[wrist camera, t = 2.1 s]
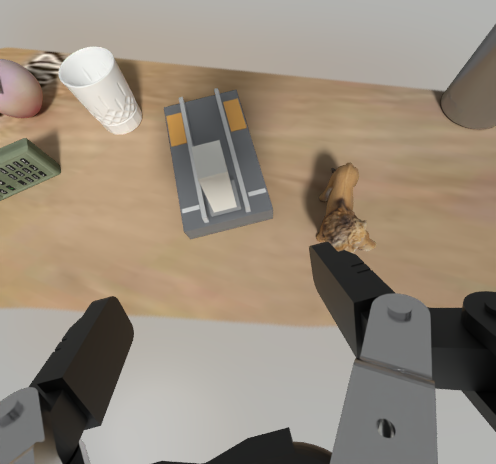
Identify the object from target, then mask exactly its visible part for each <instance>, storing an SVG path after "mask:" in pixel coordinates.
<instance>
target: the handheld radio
mask: <svg viewBox="0 0 496 464" xmlns="http://www.w3.org/2000/svg"><path fill="white" fill-rule="evenodd" d="M60 173H61V169H60V166H59V164H58V163H57V162H55V161H54V160H53V159H52V158H50V157H49V156H48V155H47V154H45V153H44V152H43V151H42V150H40V149H39V148H38V147H37V146H36V145H34V144H33V143H32V142H31V141H29V140H28V139H27V138H23V139H21V140H19V141H16V142H14V143H12V144H9V145H7V146H5V147H2V148H0V201H1V200H3V199H5V198H8V197H10V196H12V195H14V194H17V193H19V192H21V191H23V190H26V189H28V188H30V187H32V186H34V185H37V184H39V183H41V182H43V181H46V180H48V179H50V178H52V177H54V176H57V175H59V174H60Z"/></svg>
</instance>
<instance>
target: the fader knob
mask: <svg viewBox="0 0 496 464" xmlns="http://www.w3.org/2000/svg"><path fill="white" fill-rule="evenodd" d="M191 148H192V153H193V158H194V163H195V168H196V173H197V178H198V181H199V183H200V185H201V187H202V189H203V191H204V193H205V195H206V197H207V200H208V205H209V210H210V214H211V216H212V217H213V216H217V215H221V214H225V213H229V212H233V211H237V210H241V205H240V201H239V197H238V193H237V190H236V186H235V182H234V180H231V181H230V178H229V174H228V170H227V166H226V163H225V159H224V155H223V152H222V148H221V144H220V140H217V141H213V142H209V143H205V144H201V145H197V146H193V147H191Z"/></svg>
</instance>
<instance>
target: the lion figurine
mask: <svg viewBox="0 0 496 464" xmlns="http://www.w3.org/2000/svg"><path fill="white" fill-rule="evenodd" d="M331 169H332V173H333V175H332V176H331V178H330V181H329V183H328V186H327V188H326V189H325V191H324V192H323V193H322V194H321V195H320V197H319V199H320V201H324V202H325V201H327V199H328V196H329V193H330V191H331V190H332V191H331V194H330V196H329V199H328V202H327V207H326V216H325V217H324V220H323V222H322V225H321V228H320V232H319V234H318V235H317V236H316V239H317V240H318V241H319V242H324V241H325V242H329V243H330V244H331V245H332V246H333V247H334V248H335V249H336V250H337V251H342V250H346V251H348V252H351V253H354V252H355V251H356V249H359V250H365V251H369V250H371V249H373V248H375V247H376V243H375V242H374V241H373V240H371V239H370V238H369V233H368V232H367V231H366V226H367V222H366V220H364V221H361V220H360V219H358V218H357V217H356V216H355V213H354V212H353V211H352V210H353V187H354V186H355V185H356V183H357V181H358V178H359V173H358V169H357V168H356V167H354V166H353V165H352V163H347V164H346V165H343V166H341V167H339V168H338V169H337V170H335V169H333V168H331ZM332 188H333V189H332Z"/></svg>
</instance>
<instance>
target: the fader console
mask: <svg viewBox="0 0 496 464" xmlns="http://www.w3.org/2000/svg"><path fill="white" fill-rule="evenodd" d="M214 92H215V95H213V96H209V97H205V98H201V99H196V100H192V101H188V102H184V99H183V97H180V98H179V102H180V104H176V105H172V106H168V107H164V112H165V118H166V124H167V130H168V137H169V143H170V149H171V155H172V161H173V167H174V173H175V179H176V186H177V192H178V198H179V204H180V210H181V216H182V222H183V228H184V232H185V234H186V235H187V236H188V237H189V238H190V239H194V238H198V237H201V236H205V235H209V234H213V233H217V232H221V231H225V230H229V229H233V228H237V227H241V226H245V225H249V224H253V223H256V222H260V221H264V220H268V219H272V218H273V208H272V204H271V201H270V198H269V195H268V191H267V188H266V185H265V181H264V178H263V175H262V172H261V168H260V165H259V162H258V159H257V155H256V152H255V149H254V146H253V142H252V139H251V136H250V133H249V129H248V126H247V123H246V120H245V116H244V113H243V110H242V106H241V103H240V100H239V97H238V93H237V90H233V91H229V92H225V93H221V94H219V91H218V88H216V89H214ZM217 140H220V144H221V148H222V152H223V155H224V159H225V163H226V166H227V170H228V174H229V178H230V181H231V180H234V182H235V186H236V190H237V193H238V197H239V201H240V205H241V210H237V211H233V212H229V213H225V214H221V215H217V216H213V217H212V216H211V214H210V210H209V205H208V200H207V197H206V195H205V193H204V191H203V189H202V187H201V185H200V183H199V181H198V178H197V173H196V168H195V163H194V158H193V153H192V148H191V147H193V146H197V145H201V144H205V143H209V142H213V141H217Z"/></svg>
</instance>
